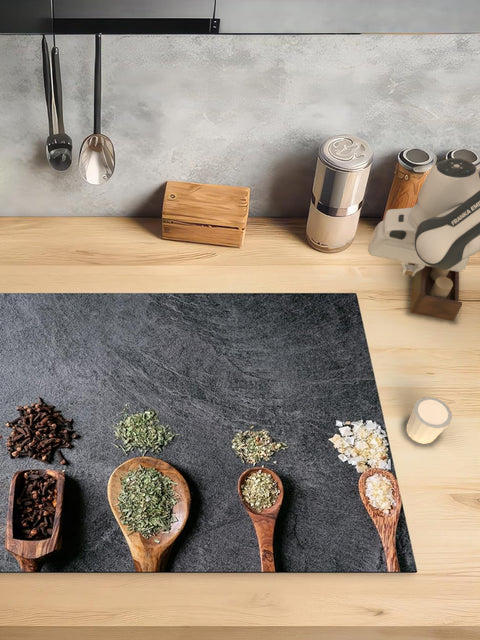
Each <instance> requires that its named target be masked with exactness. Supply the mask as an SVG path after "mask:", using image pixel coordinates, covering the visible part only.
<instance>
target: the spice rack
mask: <svg viewBox="0 0 480 640" xmlns="http://www.w3.org/2000/svg"><path fill="white" fill-rule="evenodd" d="M412 264H413V263H412ZM413 265H415V264H413ZM411 279H412V281H411V297H410V298H411V299H410V313H411V314H415V315H421V316H426V317H430V318H436V319H441V320H446V321H451V322H454V321H455V319H456V317H457V316H458V314H459V312H460V310H461V308H462V306H463V302H462V301H460V299H459V298H460V288H459V287H460V272H456V271H451V270H440V269H437V268H434V267H430V266H425V267H424V268H423V269H421V270H419V271H418V272H416V273H415V275H414V276H412V278H411Z"/></svg>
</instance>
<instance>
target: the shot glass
mask: <svg viewBox="0 0 480 640" xmlns="http://www.w3.org/2000/svg"><path fill="white" fill-rule="evenodd" d="M412 408H413V409H412V411H411V414H410V416H409V419H408V421H407V424H406V433H407V435H408V437H409V438H410V439H411V440H412V441H414V442H416V443H418V444H422V445H426V444H430V443H432V442H434V441H435V440H436V439H437V438H438V437H439V436H440V434H442V432H444V430H445V429H446V428H447V427H448V426H449V425H450V423H451V422H452V419H453V413H452V411H451V408H450V406H448V405H447V404H446V402H445V401H443V400H441V399H439V398H436V397H432V396H427V397H422V398H420V399H418V400H417V401H416V402H415V404H414V405H413V407H412Z"/></svg>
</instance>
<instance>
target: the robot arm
mask: <svg viewBox="0 0 480 640" xmlns="http://www.w3.org/2000/svg"><path fill="white" fill-rule="evenodd" d="M367 252H368V255H369V256H371V257H376V258H381V259H388V260H393V261H398V262H400V265H401V275H403V276H408V277H409V276H410V277H413V276H414V275H415V273H416V272H418V271H419V270H421V269H423V268H424V267H425V266H430V267H434V268H437V269H440V270H451V271H456V272H459V273H460V272H462V271H464V270H466V267H467V266H468V263H469V260H470V257H471V256H474V255H475V254H478V253H479V252H480V173H479V169H478V167H477V166H476V165H475V164H474V163H473V162H472V161H470V160H467V159H464V158H460V157H459V158H457V157H452V158H451V157H450V158H446V159H444V160H441V161H439V162H437V163H435V164H434V165H433V166H432V168H431V169H430V170H429V172H428V174H427V175H426V177H425V179H424V181H423V183H422V185H421V187H420V189H419V192H418V195H417V202H416V203H415V204H414V206H412V207H404V208H390V209H387V210H386V212H385V214H384V218H383V220H382V221H380V222H378V224H376V226H375V228H374V230H373V231H372V233H371V236H370V238H369V240H368V245H367ZM412 264H415V265H412Z"/></svg>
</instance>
